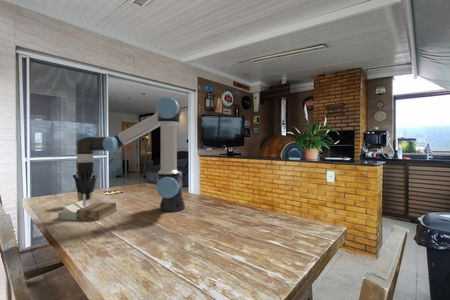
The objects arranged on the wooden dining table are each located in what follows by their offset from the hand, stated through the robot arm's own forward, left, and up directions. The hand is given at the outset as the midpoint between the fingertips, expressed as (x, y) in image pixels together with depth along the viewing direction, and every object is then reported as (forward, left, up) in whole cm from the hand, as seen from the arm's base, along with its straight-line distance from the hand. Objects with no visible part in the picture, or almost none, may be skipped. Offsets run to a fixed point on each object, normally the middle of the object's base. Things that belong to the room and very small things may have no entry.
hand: (85, 205), depth 123 cm
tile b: (+7, 0, -2) cm, 7 cm away
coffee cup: (+16, -21, -7) cm, 27 cm away
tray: (+7, -4, -6) cm, 10 cm away
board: (-4, -4, -6) cm, 9 cm away
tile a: (+8, -8, -2) cm, 11 cm away
